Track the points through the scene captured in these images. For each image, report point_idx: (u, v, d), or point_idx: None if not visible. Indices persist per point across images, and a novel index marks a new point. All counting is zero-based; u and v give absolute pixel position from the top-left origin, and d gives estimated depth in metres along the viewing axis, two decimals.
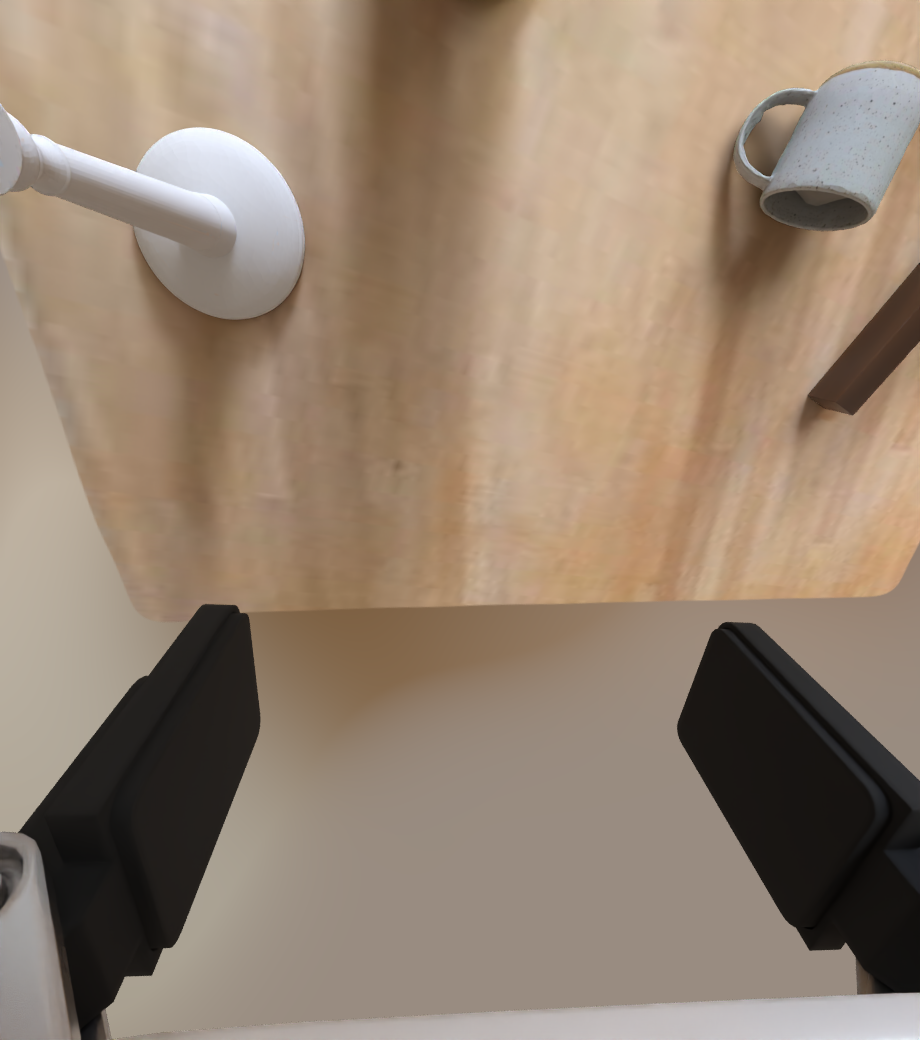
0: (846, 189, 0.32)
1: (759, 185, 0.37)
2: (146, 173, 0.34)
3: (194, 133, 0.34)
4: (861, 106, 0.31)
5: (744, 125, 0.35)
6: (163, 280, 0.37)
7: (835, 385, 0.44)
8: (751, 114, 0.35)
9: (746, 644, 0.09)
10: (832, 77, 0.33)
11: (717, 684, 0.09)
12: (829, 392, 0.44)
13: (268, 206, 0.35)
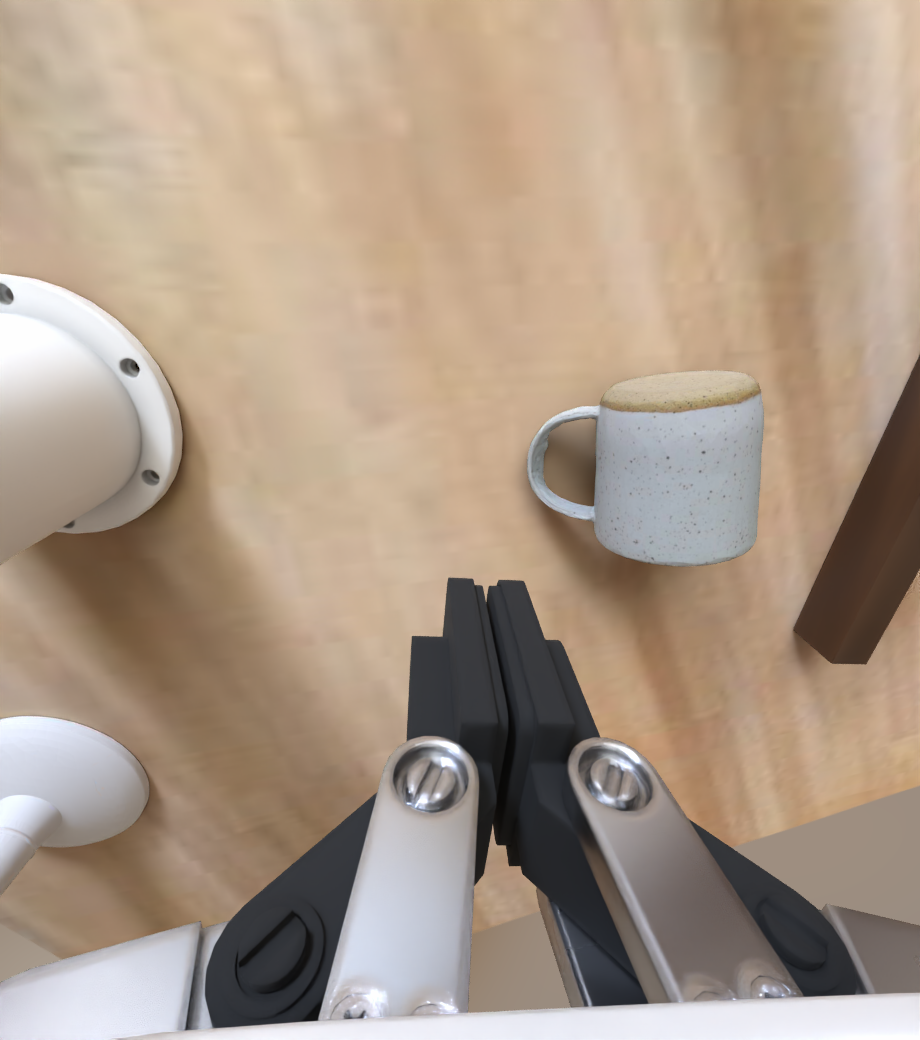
0: (690, 563, 0.21)
1: None
2: None
3: None
4: (657, 464, 0.20)
5: (528, 467, 0.26)
6: None
7: (822, 631, 0.31)
8: (530, 454, 0.25)
9: (507, 598, 0.10)
10: (606, 406, 0.22)
11: None
12: (819, 640, 0.31)
13: (72, 770, 0.32)
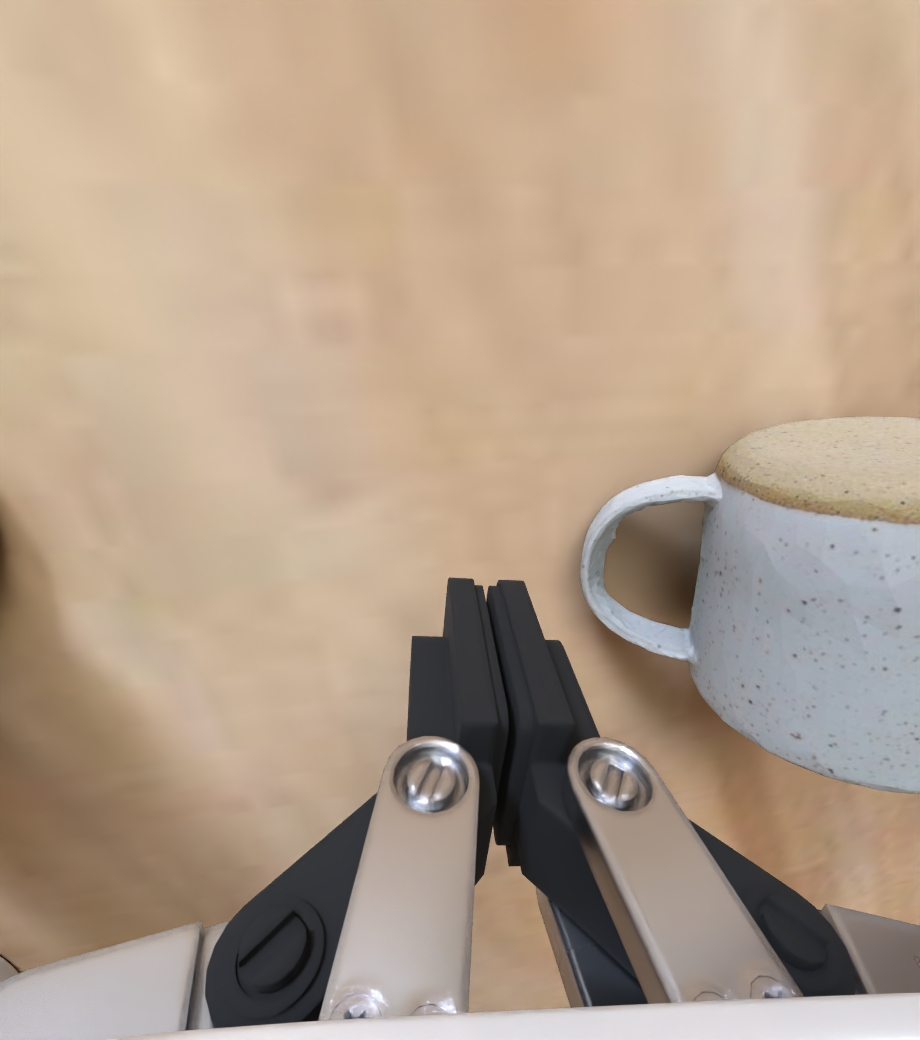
0: (912, 789, 0.11)
1: None
2: None
3: None
4: (869, 618, 0.10)
5: (583, 573, 0.15)
6: None
7: None
8: (587, 553, 0.15)
9: (507, 598, 0.09)
10: (744, 490, 0.12)
11: None
12: None
13: None
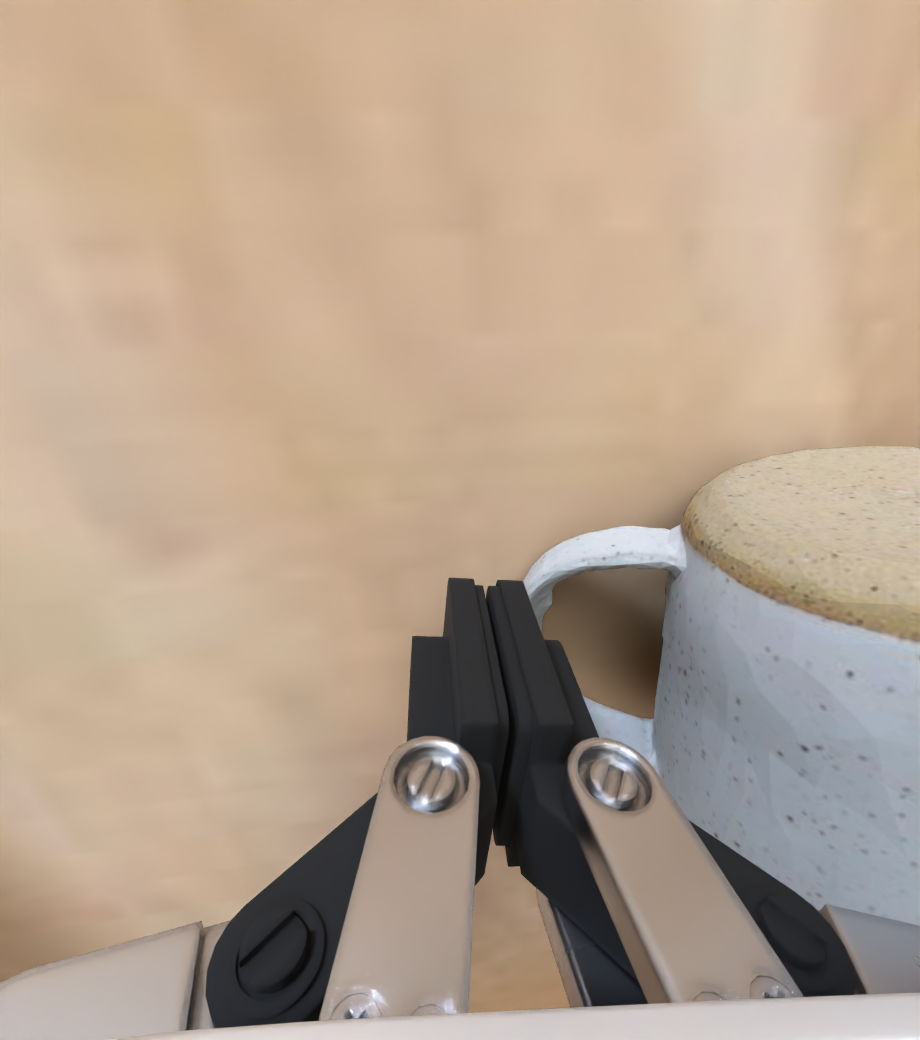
0: None
1: None
2: None
3: None
4: (910, 792, 0.06)
5: None
6: None
7: None
8: None
9: (506, 598, 0.09)
10: (715, 563, 0.08)
11: None
12: None
13: None
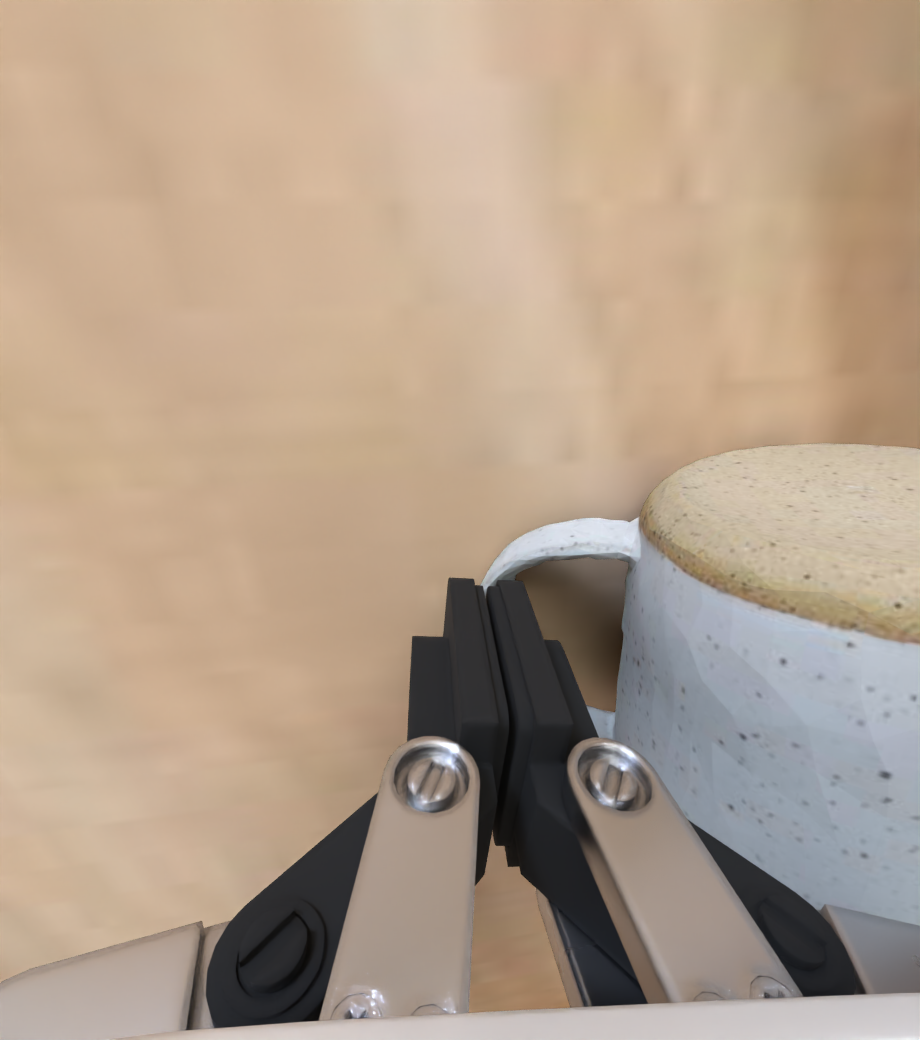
0: None
1: None
2: None
3: None
4: (840, 779, 0.06)
5: None
6: None
7: None
8: None
9: (506, 598, 0.09)
10: (664, 553, 0.08)
11: None
12: None
13: None
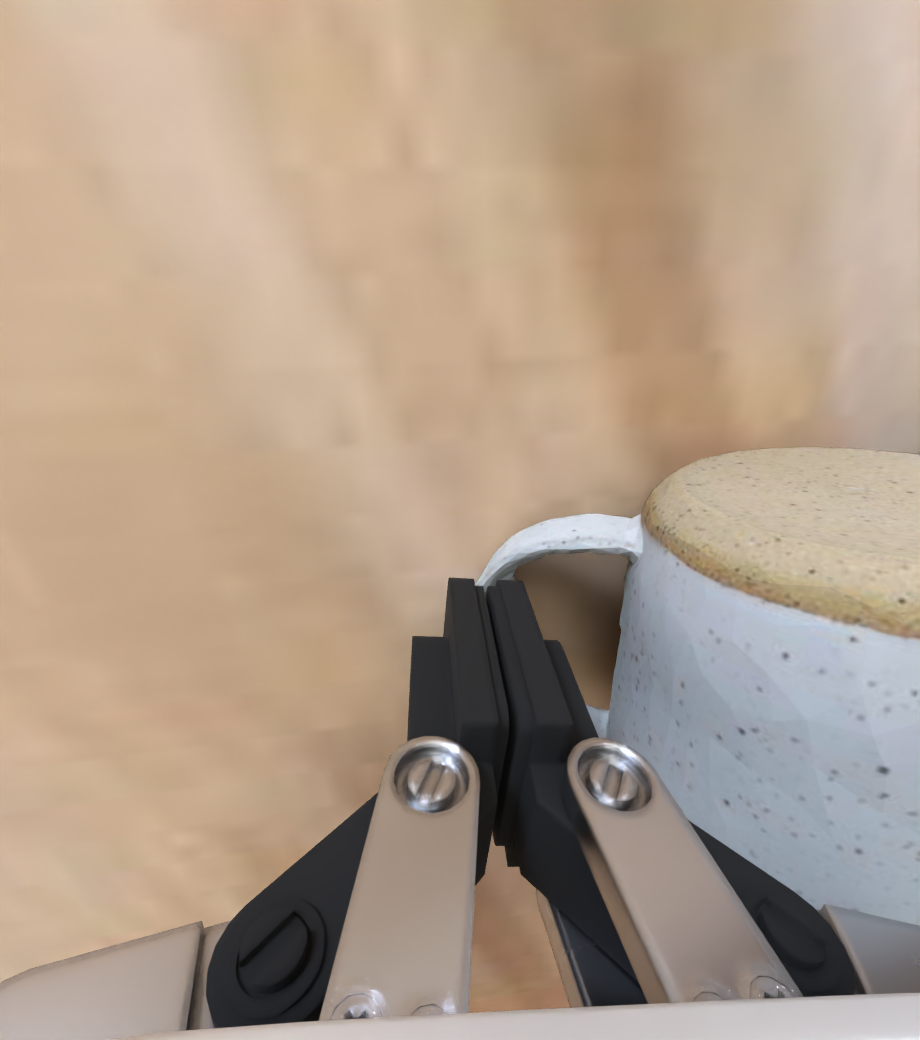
0: None
1: None
2: None
3: None
4: (837, 774, 0.06)
5: None
6: None
7: None
8: None
9: (505, 598, 0.09)
10: (668, 547, 0.08)
11: None
12: None
13: None
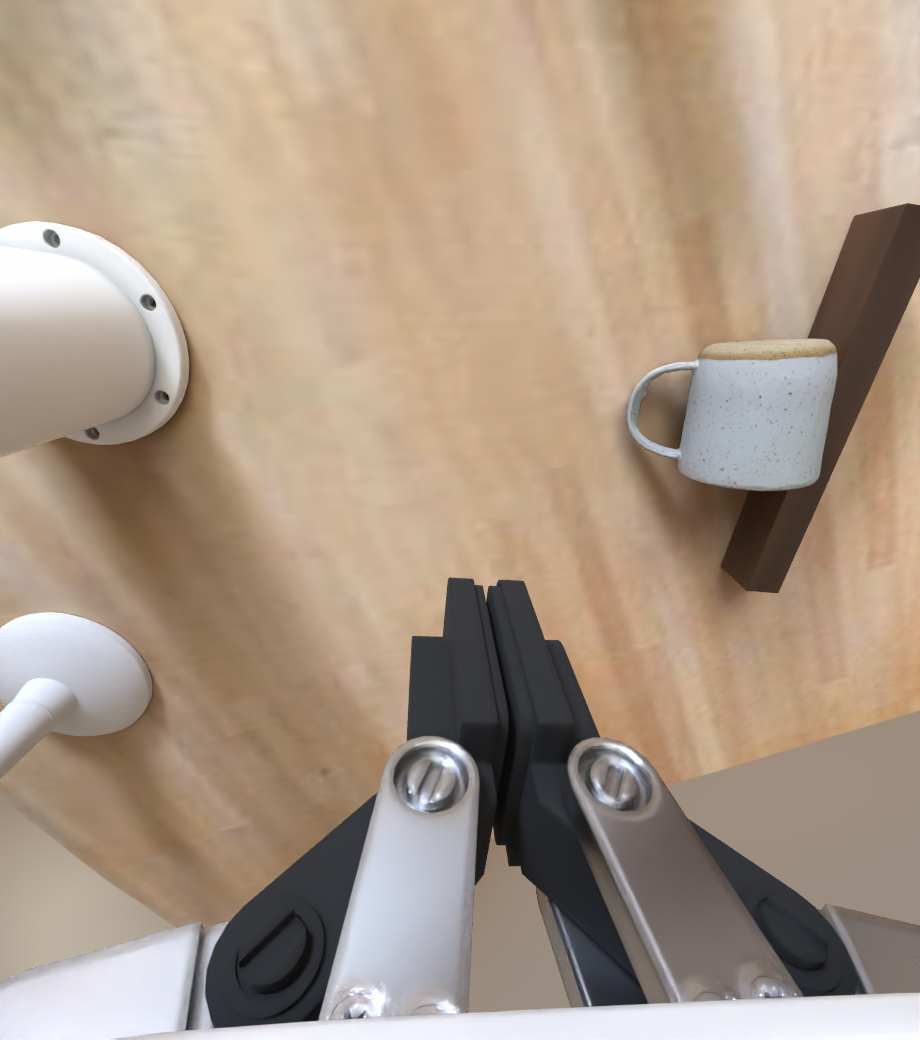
0: (767, 487, 0.27)
1: None
2: None
3: (5, 633, 0.37)
4: (750, 402, 0.26)
5: (628, 410, 0.31)
6: None
7: (741, 564, 0.35)
8: (631, 399, 0.30)
9: (506, 598, 0.10)
10: (707, 358, 0.27)
11: None
12: (738, 572, 0.35)
13: (87, 659, 0.37)
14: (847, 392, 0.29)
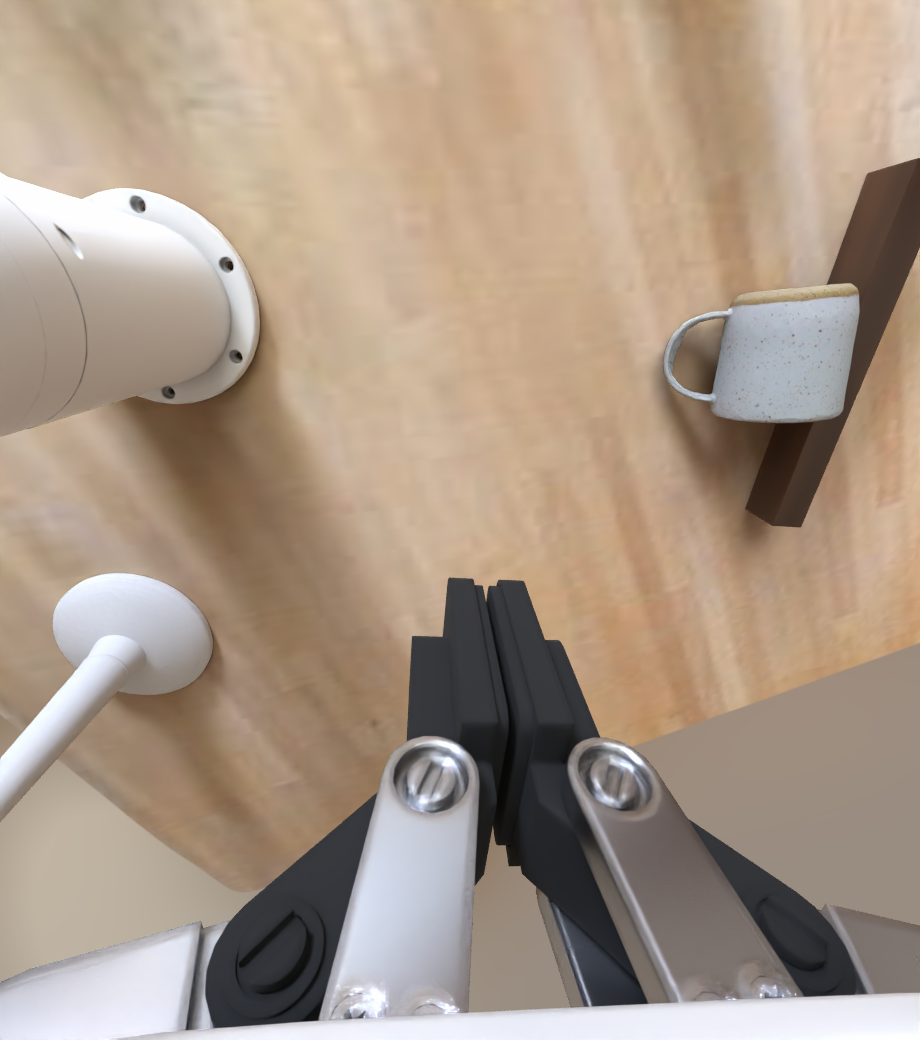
0: (799, 418, 0.30)
1: None
2: (59, 636, 0.40)
3: (76, 594, 0.38)
4: (784, 341, 0.28)
5: (666, 359, 0.34)
6: None
7: (766, 502, 0.38)
8: (669, 348, 0.33)
9: (507, 598, 0.09)
10: (741, 304, 0.30)
11: None
12: (763, 510, 0.38)
13: (156, 616, 0.39)
14: (864, 334, 0.32)
